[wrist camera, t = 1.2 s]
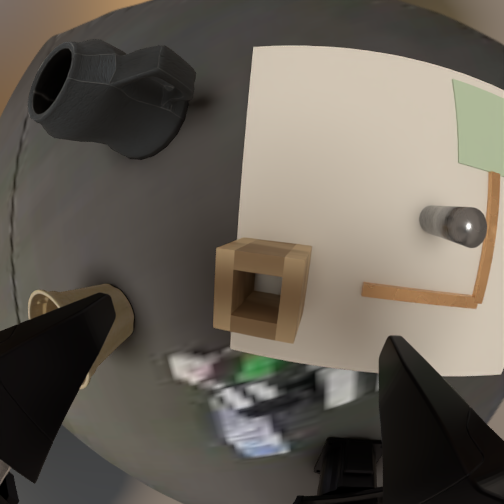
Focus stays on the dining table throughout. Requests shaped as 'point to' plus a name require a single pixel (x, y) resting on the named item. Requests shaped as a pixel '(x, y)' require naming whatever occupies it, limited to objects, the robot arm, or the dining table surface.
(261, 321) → the oak open box
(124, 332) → the flower pot
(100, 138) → the dark grey holder
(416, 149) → the course mat
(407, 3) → the dining table surface
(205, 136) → the dining table surface
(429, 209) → the wire and posts
